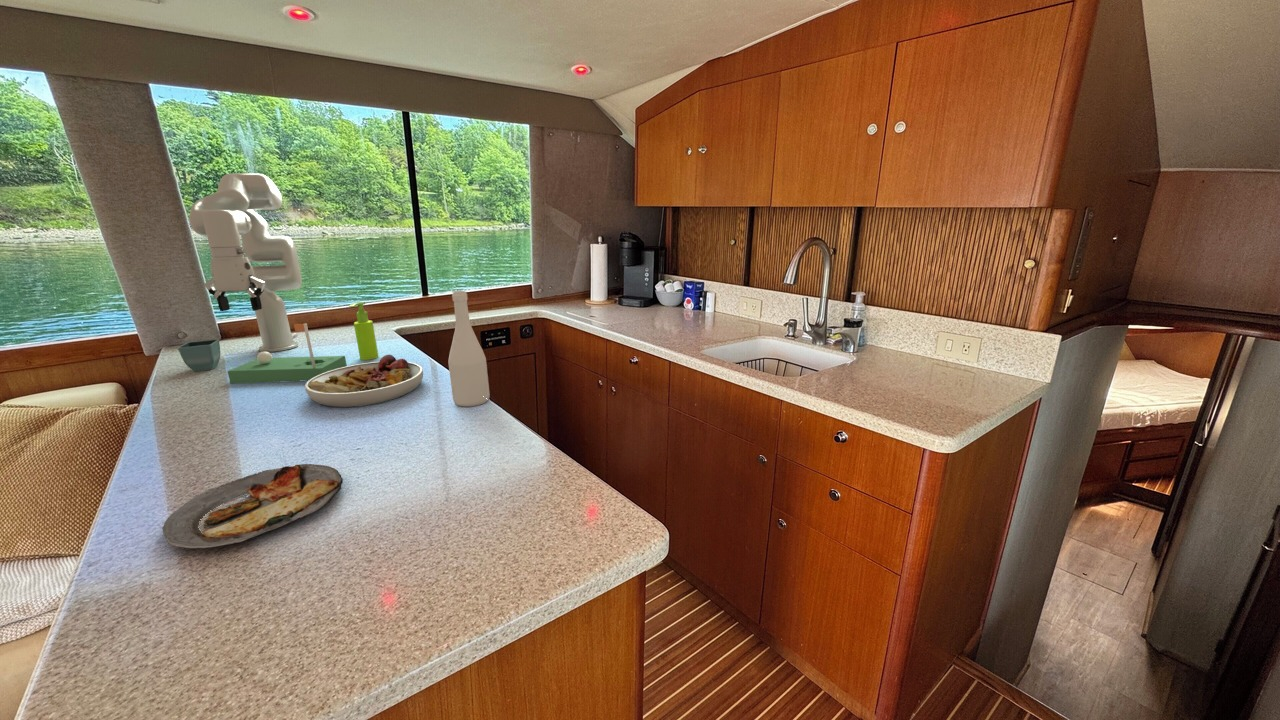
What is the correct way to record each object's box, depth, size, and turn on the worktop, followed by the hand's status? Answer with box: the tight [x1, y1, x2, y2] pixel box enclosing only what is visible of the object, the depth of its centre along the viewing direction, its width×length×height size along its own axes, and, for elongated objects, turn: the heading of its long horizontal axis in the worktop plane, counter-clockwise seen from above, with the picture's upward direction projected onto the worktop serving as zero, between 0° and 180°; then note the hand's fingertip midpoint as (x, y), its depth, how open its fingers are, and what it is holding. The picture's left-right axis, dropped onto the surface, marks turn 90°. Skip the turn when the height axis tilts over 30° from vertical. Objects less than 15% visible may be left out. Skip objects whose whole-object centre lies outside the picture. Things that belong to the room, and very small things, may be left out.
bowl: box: [304, 354, 424, 408], centre depth 144 cm, size 30×30×8 cm
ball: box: [256, 351, 274, 364], centre depth 158 cm, size 4×4×4 cm
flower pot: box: [177, 339, 221, 372], centre depth 167 cm, size 9×9×9 cm
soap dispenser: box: [348, 301, 379, 361], centre depth 175 cm, size 6×7×20 cm
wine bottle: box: [447, 290, 491, 408], centre depth 131 cm, size 10×10×30 cm
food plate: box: [161, 463, 344, 549], centre depth 86 cm, size 25×23×4 cm
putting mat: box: [227, 323, 348, 384], centre depth 158 cm, size 14×28×18 cm, turn 93°
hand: (241, 310), depth 152 cm, fingers open, 9 cm apart
